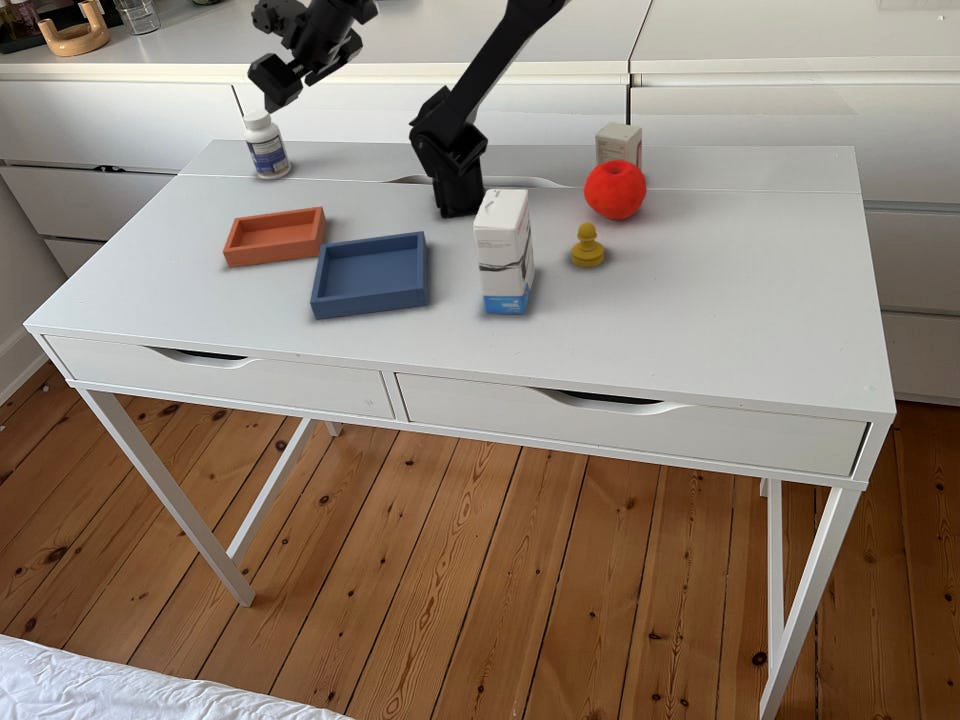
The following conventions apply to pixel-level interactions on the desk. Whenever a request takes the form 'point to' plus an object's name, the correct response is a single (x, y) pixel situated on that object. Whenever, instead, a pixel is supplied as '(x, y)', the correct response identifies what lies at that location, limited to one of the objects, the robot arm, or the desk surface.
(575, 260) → the chess piece
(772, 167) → the desk surface
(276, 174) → the pill bottle
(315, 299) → the blue tray
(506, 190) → the ink box
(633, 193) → the apple
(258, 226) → the terracotta tray
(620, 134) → the small box
